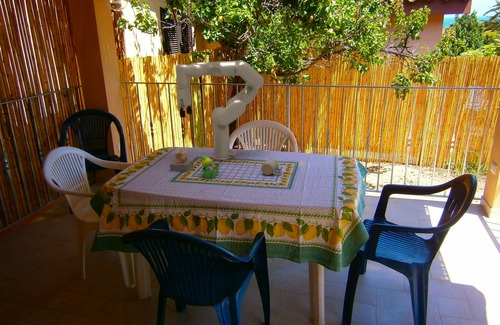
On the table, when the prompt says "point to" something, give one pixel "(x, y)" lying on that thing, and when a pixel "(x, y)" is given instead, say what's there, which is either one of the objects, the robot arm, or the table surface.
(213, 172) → the green bird basket
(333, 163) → the table surface
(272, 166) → the ceramic mug
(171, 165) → the charcoal base
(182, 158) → the terracotta block
